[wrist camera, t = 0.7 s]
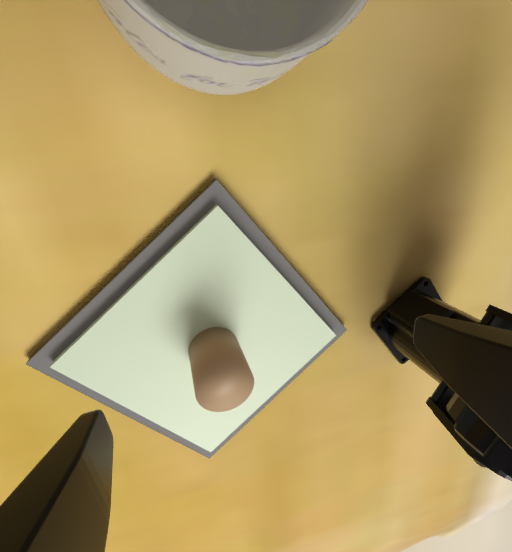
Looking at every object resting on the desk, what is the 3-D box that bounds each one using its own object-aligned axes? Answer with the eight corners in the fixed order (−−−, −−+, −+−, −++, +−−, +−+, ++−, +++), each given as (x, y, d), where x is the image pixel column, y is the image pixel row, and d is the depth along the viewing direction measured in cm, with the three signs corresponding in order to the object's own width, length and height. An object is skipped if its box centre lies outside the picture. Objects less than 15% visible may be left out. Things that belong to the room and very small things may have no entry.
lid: (332, 331, 24) (367, 366, 20) (209, 446, 25) (220, 502, 20) (216, 204, 18) (233, 216, 14) (52, 361, 18) (22, 419, 14)
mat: (343, 326, 25) (347, 330, 25) (208, 453, 25) (209, 458, 25) (215, 179, 18) (216, 179, 17) (28, 359, 18) (25, 364, 18)
